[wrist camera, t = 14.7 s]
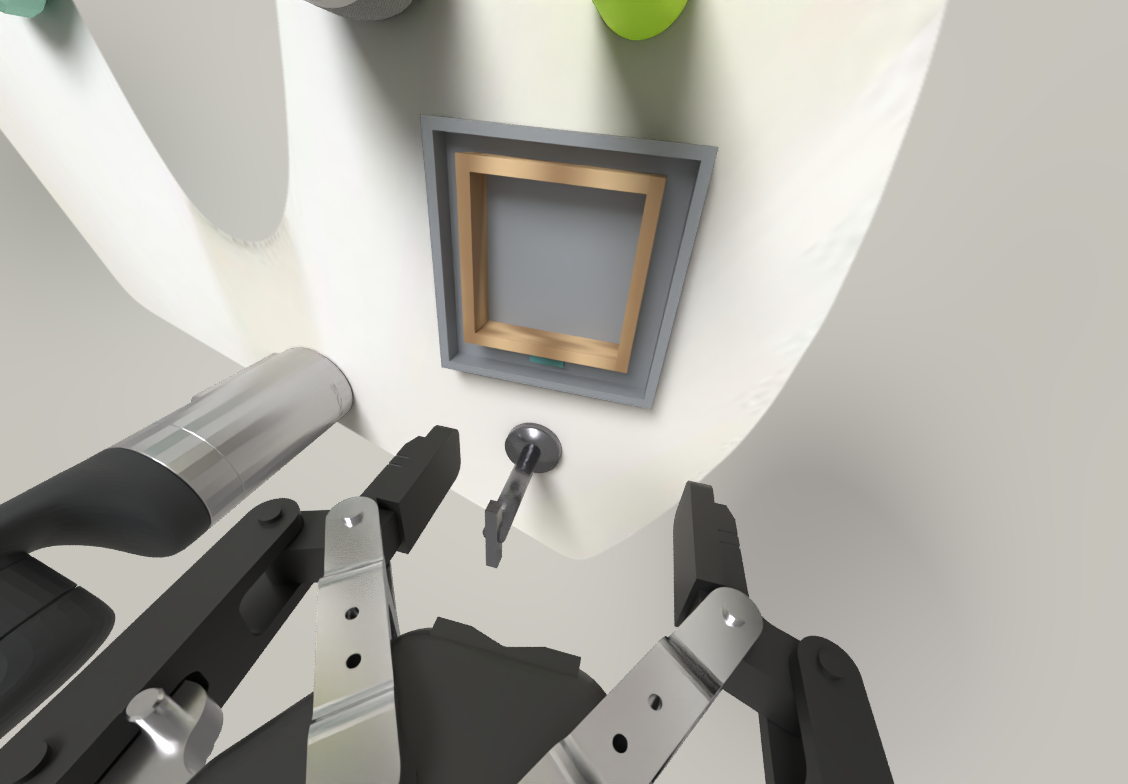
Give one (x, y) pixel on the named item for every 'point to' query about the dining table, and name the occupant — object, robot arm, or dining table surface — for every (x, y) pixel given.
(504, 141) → the tray
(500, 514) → the grey metal stand
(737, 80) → the dining table surface
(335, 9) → the smart speaker
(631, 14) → the soap dispenser
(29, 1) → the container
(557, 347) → the wooden frame
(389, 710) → the robot arm
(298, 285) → the dining table surface
